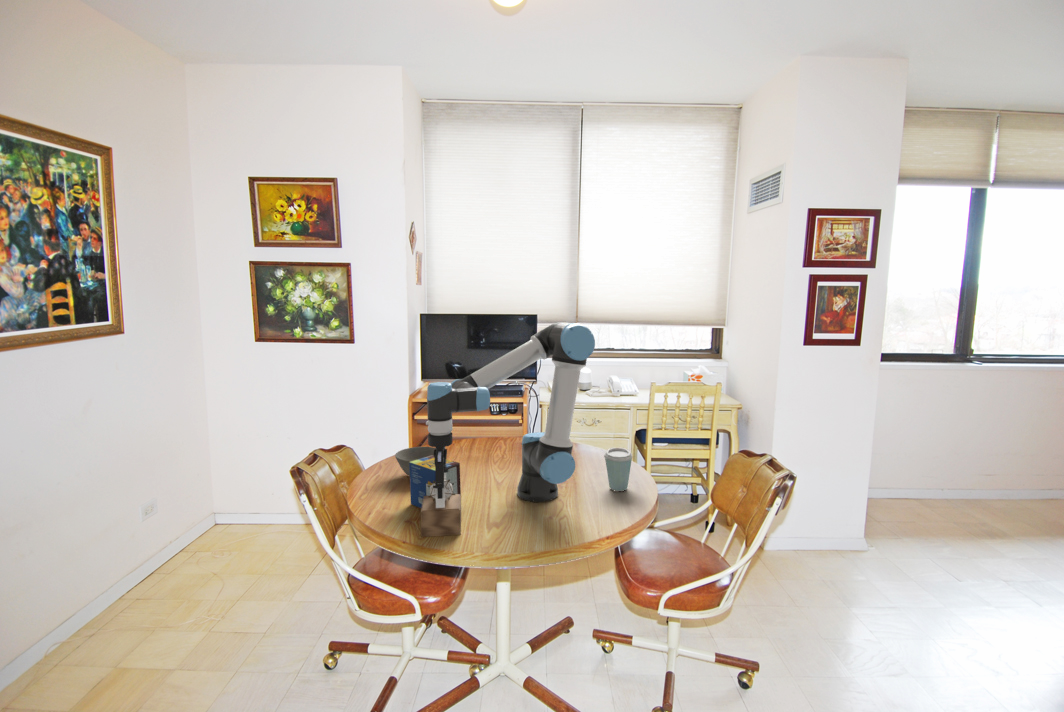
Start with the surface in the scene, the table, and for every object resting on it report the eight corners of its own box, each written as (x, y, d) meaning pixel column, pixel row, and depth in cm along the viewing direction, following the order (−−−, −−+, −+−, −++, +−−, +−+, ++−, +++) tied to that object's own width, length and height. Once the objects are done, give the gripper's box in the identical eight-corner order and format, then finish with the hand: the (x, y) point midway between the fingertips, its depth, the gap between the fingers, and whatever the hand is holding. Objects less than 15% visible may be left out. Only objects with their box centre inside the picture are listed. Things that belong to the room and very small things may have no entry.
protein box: (433, 495, 183) (431, 454, 181) (461, 505, 173) (460, 462, 172) (409, 504, 175) (408, 461, 173) (438, 515, 165) (436, 470, 163)
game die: (439, 511, 159) (437, 480, 164) (461, 505, 157) (459, 474, 161) (422, 507, 152) (421, 475, 157) (445, 500, 149) (444, 468, 154)
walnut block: (461, 517, 165) (460, 493, 164) (460, 534, 153) (460, 509, 152) (424, 519, 164) (423, 495, 163) (421, 536, 152) (420, 511, 151)
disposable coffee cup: (633, 495, 184) (635, 455, 182) (604, 494, 184) (605, 455, 183) (629, 484, 194) (630, 447, 193) (602, 483, 195) (603, 446, 193)
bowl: (417, 489, 188) (416, 464, 187) (386, 478, 200) (385, 454, 198) (453, 475, 203) (452, 451, 202) (422, 465, 214) (422, 443, 213)
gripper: (430, 423, 165) (431, 486, 168) (424, 443, 143) (426, 516, 145) (453, 422, 166) (454, 485, 169) (451, 442, 144) (452, 515, 146)
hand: (441, 499), depth 157 cm, fingers open, 11 cm apart
